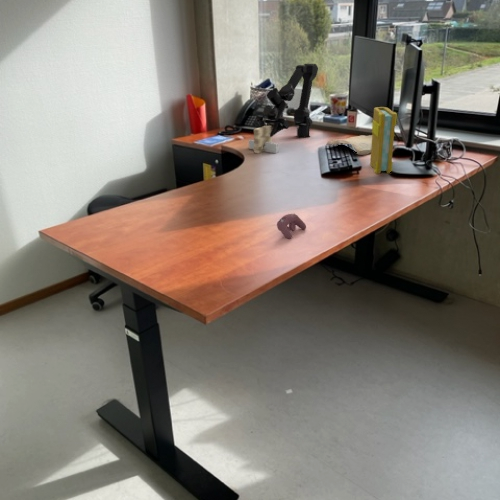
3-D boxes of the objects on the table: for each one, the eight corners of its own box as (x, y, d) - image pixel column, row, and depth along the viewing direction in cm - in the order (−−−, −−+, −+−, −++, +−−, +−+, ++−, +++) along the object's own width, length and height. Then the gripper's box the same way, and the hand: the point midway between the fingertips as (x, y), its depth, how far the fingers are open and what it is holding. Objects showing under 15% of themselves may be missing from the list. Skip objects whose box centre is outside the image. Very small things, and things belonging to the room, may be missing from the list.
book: (391, 173, 206) (397, 113, 195) (375, 173, 206) (380, 114, 196) (382, 162, 221) (387, 106, 210) (368, 162, 222) (371, 107, 211)
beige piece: (351, 143, 260) (324, 146, 249) (353, 129, 257) (325, 132, 246) (385, 153, 242) (358, 157, 231) (388, 138, 239) (360, 141, 228)
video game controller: (297, 231, 159) (289, 211, 158) (308, 228, 156) (300, 208, 155) (280, 241, 152) (272, 221, 151) (291, 239, 149) (282, 218, 148)
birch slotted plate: (268, 147, 255) (267, 125, 249) (271, 148, 253) (271, 125, 248) (254, 152, 247) (253, 129, 242) (258, 153, 245) (257, 129, 240)
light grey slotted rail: (249, 148, 255) (248, 140, 253) (251, 147, 256) (251, 139, 254) (276, 153, 244) (275, 144, 242) (278, 152, 245) (278, 143, 243)
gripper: (256, 99, 250) (244, 125, 248) (285, 102, 239) (272, 128, 237) (266, 112, 259) (254, 137, 256) (295, 115, 248) (282, 141, 245)
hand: (265, 135), depth 248 cm, fingers open, 6 cm apart
